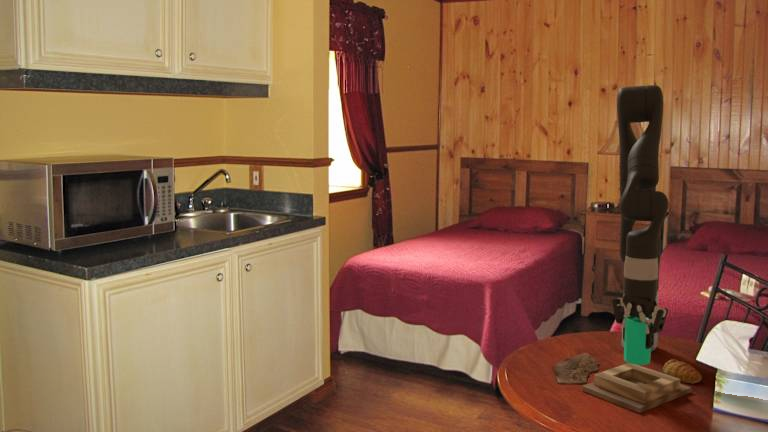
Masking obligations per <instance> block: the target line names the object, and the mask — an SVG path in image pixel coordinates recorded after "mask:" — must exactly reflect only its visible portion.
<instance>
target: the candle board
mask: <svg viewBox="0 0 768 432" xmlns="http://www.w3.org/2000/svg"><path fill="white" fill-rule="evenodd" d="M581 392H585V393H586V394H590V395H593V396H594V397H597V398H600V399H602V400H604V401H607V402H610V403H612V404H616V405H618V406H620V407H623V408H625V409H628V410H630V411H632V412H635V413H637V414H641V413H644V412H647V411H648V410H651V409H654V408H656V407H658V406H661V405H664V404H666V403H669V402H670V401H673V400H675V399H677V398H681V397H683V396H685V395H688V394H690V393H692V387H690V386H688V385H685V384H681V381H680V379H679V378H676V377H673V376H669V375H666V374H665V373H664V372H660V371H657V370H654V369H650V368H648V367H645V366H643V365H636V364H630V363H628V362H626V363H624V364H621V365H618V366H616V367H612V368H609V369H606V370H604V371H602V372H597V373H595V374H593V381H592V382H590V383H586V384H583V385H582V386H581Z"/></svg>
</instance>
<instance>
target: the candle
mask: <svg viewBox="0 0 768 432" xmlns="http://www.w3.org/2000/svg"><path fill="white" fill-rule="evenodd" d="M646 319H648V318H646ZM649 327H650V328H651V323H649ZM645 345H646V324H644V323H643V322H641V320H640V319H639V318H638V317H634V318H631V319H628V318H627V317H625V341H624V348H623V361H625V362H626V363H630V364H636V365H639V366H646V365H650V363H651V354H652V352H651V348H649V349H646V348H645Z"/></svg>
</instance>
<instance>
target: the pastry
mask: <svg viewBox="0 0 768 432" xmlns="http://www.w3.org/2000/svg"><path fill="white" fill-rule="evenodd" d="M662 371H663V372H662V373H663V374H666V375H669V376H673V377H676V378H679V379H680V382H681V381H682V382H681V383H686V384H692V385H693V384H696V383H699V382H701V381H702V374H701V373H700V372H699V370H697V369H696V368H695V367H694V366H692V365H691V364H690V363H686V362H685V361H679V360H678V359H675V358H674V359H673V358H672V359H670V360H669V359H668V361H667V362H665V363H664V365H663V367H662Z"/></svg>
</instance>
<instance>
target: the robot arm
mask: <svg viewBox="0 0 768 432" xmlns="http://www.w3.org/2000/svg"><path fill="white" fill-rule="evenodd" d="M616 114H617V115H616V116H617V126H618V127H617V128H618V139H619V171H618V172H619V173H618V175H619V197H620V200H619V201H620V202H619V207H618V208H619V209H618V210H619V213H620V230H619V231H620V232H619V257H620V261H621V262H622V263H623V265H624V266H623V282H622V283H623V287H622V292H623V296H622V297H616V298H613V299H612V300H611V301H612V308H613V313H614V320H615V323H616V324H620V325H621V347H622V348H623V349H624V341H625V317H627V318H628V319H631V318H634V317H638V318H639V319H640V320H641V322H643V323H644V324H646V345H645V348H646V349H649V348H651V353H652V352H654V351H655V350H656V349H657V347H658V340H659V338H658V337H659V333H660V332H662V331H663V330H664V326H665V323H666V319H667V316H668V313H669V310H668V308H667V307H664V308H663V307H660V306H658V305H659V284H660V283H659V282H660V281H659V280H660V267H661V257H662V246H663V245H662V244H663V243H662V238H661V235H660V234H661V231H662V227H663V224H664V221H665V220H666V219H665V218H666V216H667V213H668V210H669V200H668V196H667V195H666V194H665V193H664V192H662V191H660V190H659V191H658V190H657V186H658V183H659V180H660V173H659V172H660V170H659V169H660V167H659V165H660V164H659V156H660V155H659V151H660V150H659V149H660V144H661V143H660V142H661V135H662V128H663V127H662V125H663V116H664V94H663V91H662V88H661V86H659V85H654V84H653V85H652V84H650V85H636V86H635V85H634V86H623V87H620V88H619V90H618V91H617V96H616ZM631 123H634V124H635V123H648V125H647V127H646V129H645V130H644V132H643V133H642V135H640V137H639V138H638V139H637V137H636V135H635V133H634V131H633V128H632V125H631ZM636 222H650V223H649V225H648V226H647V227H645V228H643V229H637V230H634V229H633V228H634V225H635V223H636ZM646 318H648V319H646ZM649 323H651V328H650V327H649Z"/></svg>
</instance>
